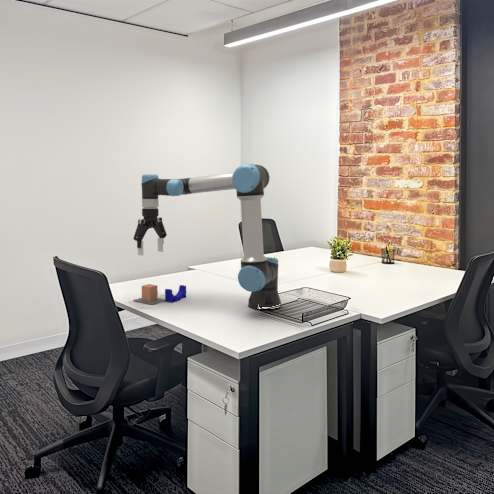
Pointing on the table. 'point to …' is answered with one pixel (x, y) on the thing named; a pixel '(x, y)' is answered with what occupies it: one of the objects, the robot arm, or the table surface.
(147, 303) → the stand
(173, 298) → the blue arch bracket
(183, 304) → the table surface
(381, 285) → the table surface
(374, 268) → the table surface
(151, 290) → the peach clay cube
